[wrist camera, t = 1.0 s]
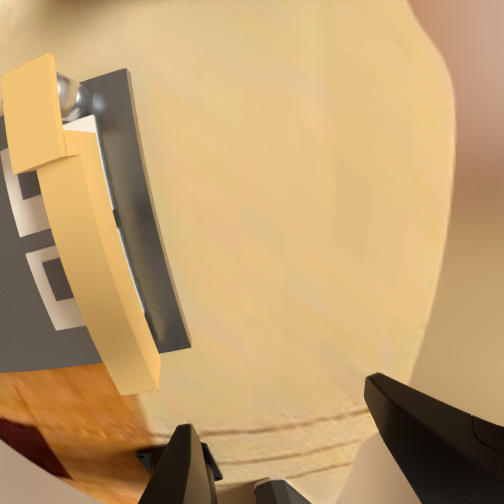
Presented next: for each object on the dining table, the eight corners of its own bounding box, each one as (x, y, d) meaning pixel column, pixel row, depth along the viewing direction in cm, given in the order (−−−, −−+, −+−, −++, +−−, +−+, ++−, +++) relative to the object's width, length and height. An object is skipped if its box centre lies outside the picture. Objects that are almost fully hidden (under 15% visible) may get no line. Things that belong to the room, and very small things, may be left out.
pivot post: (99, 116, 14) (62, 106, 9) (66, 127, 14) (20, 123, 9) (94, 82, 14) (57, 60, 9) (62, 94, 13) (16, 79, 8)
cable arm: (49, 90, 12) (1, 76, 7) (87, 76, 12) (48, 53, 8) (127, 364, 17) (116, 421, 13) (160, 359, 18) (156, 417, 13)
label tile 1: (144, 311, 17) (143, 315, 17) (57, 328, 16) (55, 331, 16) (118, 228, 15) (116, 230, 15) (27, 252, 15) (24, 254, 14)
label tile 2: (113, 209, 15) (111, 210, 15) (22, 236, 14) (19, 238, 14) (94, 115, 13) (91, 114, 13) (2, 151, 13) (-2, 151, 12)
